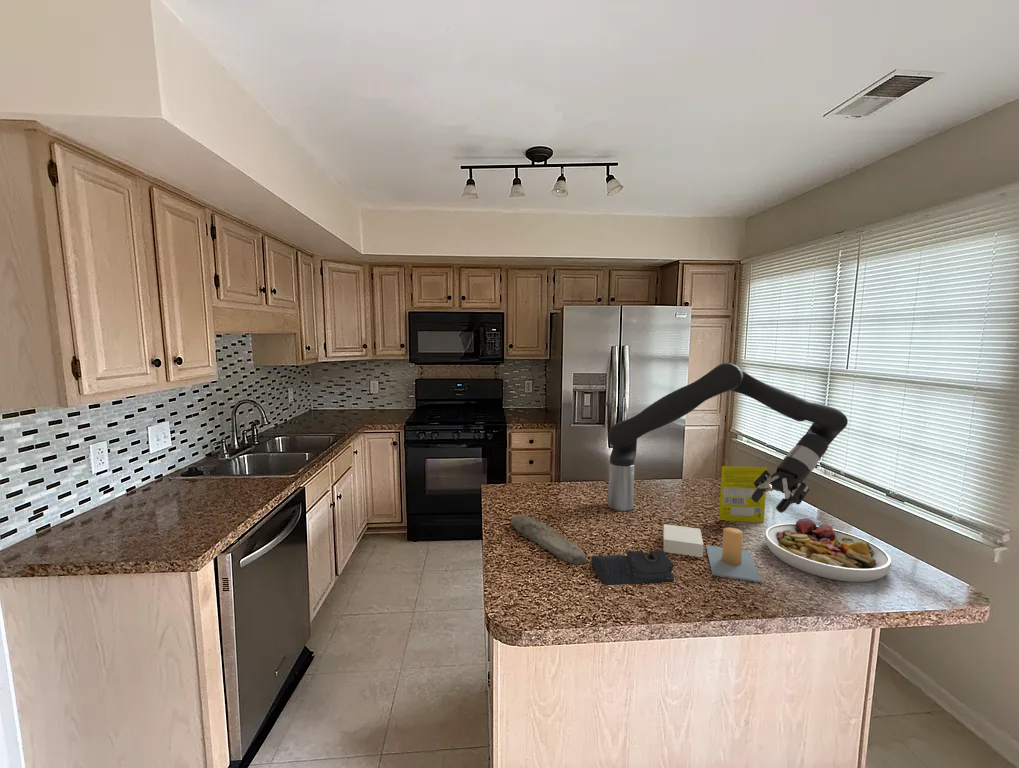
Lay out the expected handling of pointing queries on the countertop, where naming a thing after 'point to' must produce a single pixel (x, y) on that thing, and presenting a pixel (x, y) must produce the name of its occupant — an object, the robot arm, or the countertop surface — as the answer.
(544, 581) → the countertop surface
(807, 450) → the robot arm
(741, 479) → the food package
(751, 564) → the mat
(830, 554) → the bowl
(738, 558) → the tan rounded cylinder
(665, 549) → the white square block
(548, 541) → the long grey stone
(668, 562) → the black flat bumpy piece
